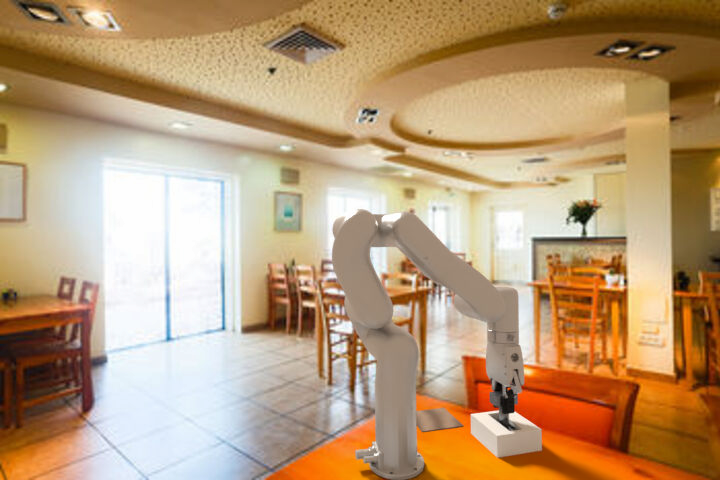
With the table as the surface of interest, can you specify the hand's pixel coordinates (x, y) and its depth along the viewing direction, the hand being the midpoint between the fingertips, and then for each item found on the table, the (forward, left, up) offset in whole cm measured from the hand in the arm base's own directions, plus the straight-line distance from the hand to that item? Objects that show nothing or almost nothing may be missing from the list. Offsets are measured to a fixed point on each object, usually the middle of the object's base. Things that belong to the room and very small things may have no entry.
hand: (503, 409), depth 98 cm
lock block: (0, 0, -9) cm, 9 cm away
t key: (0, 0, -7) cm, 7 cm away
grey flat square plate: (-12, +16, -9) cm, 22 cm away
